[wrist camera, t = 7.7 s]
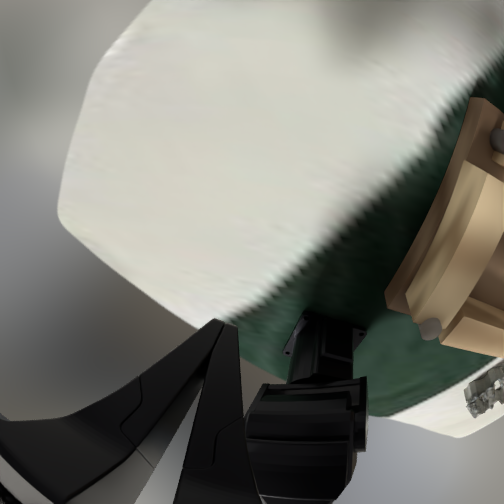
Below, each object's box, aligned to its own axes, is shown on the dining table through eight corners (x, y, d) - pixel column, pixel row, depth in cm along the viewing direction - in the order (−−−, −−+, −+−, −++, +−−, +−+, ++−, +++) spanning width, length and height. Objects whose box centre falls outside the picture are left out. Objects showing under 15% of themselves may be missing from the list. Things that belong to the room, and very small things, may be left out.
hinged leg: (430, 308, 18) (441, 342, 15) (400, 301, 18) (409, 337, 15) (494, 177, 11) (524, 197, 8) (463, 159, 12) (493, 176, 9)
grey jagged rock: (508, 382, 23) (514, 402, 20) (472, 404, 27) (475, 424, 24) (503, 359, 21) (511, 382, 18) (459, 386, 25) (464, 410, 22)
